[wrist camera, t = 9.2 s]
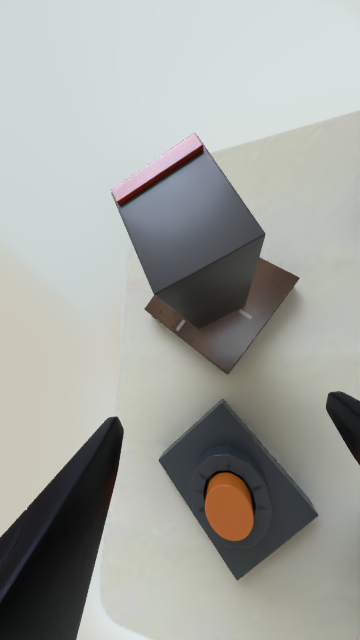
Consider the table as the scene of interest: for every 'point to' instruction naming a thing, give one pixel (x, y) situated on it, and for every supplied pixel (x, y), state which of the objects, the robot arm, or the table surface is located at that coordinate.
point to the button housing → (253, 469)
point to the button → (229, 506)
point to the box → (191, 233)
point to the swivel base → (231, 318)
